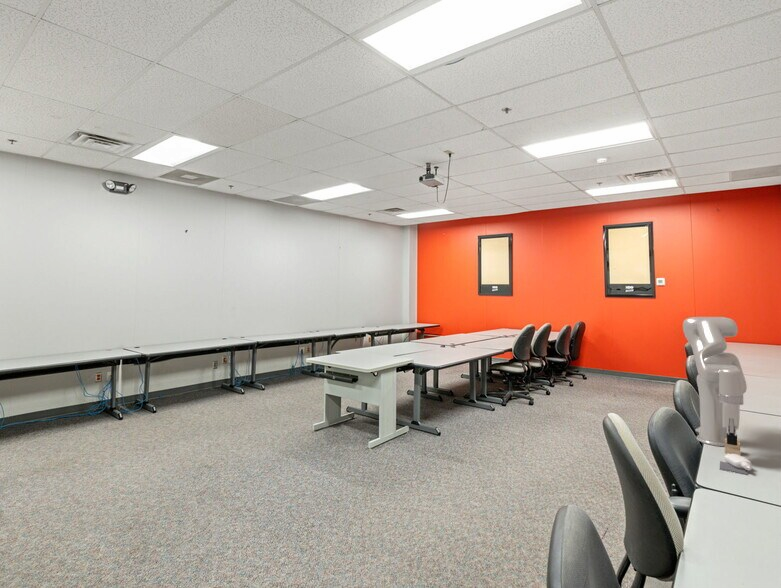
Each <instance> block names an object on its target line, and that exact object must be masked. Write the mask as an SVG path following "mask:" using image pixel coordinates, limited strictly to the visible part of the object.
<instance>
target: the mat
mask: <svg viewBox="0 0 781 588" xmlns="http://www.w3.org/2000/svg"><path fill="white" fill-rule="evenodd" d="M720 469H723V470H722V471H724V470H727V471H726V472H729V471H731V472H730V473H734V472H735V473H736V474H740V475H745V476H748V470H745V469H740V468H737V467H735V466H733V465H731V464H730V463H728V462H726V461H722V460H721V461H719V470H720Z"/></svg>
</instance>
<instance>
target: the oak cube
mask: <svg viewBox="0 0 781 588" xmlns="http://www.w3.org/2000/svg"><path fill="white" fill-rule="evenodd" d="M727 453H729V454H737V455H740V456H742V455H741V440H738V439H737V446H736V445H730V444H727V439H726V438H725V446H724V454H727Z"/></svg>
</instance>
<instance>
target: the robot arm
mask: <svg viewBox="0 0 781 588" xmlns="http://www.w3.org/2000/svg"><path fill="white" fill-rule="evenodd" d="M738 330H739V329H738V325H737V323H736V322H735V320H734V319H732V318H728V317H725V316H692V317H687V318H685V319H684V320H683V322H682V331H683V334H684V336H685V338H686V340H687V342H688V343H689V344H690V346H691V349H692V353H693V356H694V361H695V367H696V370H697V376H696V384H697V388H698V389H697V390H698V398H699V417H700V419H699V420H700V421H699V422H700V423H699V424H700V425H699V426H698V427H697V428H695V432H697V433H698V435H696V440H697V441H698V442H701V443H703V444H706V445H710V446H716V447H725V438H726V439H727V444H730V445H736V446H737V440H738V434H737V431H738V430H739V427H740V418H741V417H740V414H741V413H740V412H741V408H740V407H741V406H743V405H744V403H745V402H744V394H745V393H746V392H747V387H748V386H747V382H746V378H745V376H744V375H745V374H744V372H743V369H742V366H741V363H740V360H739V358H738V357H737V356H736V355H735V354H734V353H731V352H725V351H726V350H727V348H728V344H727V342H726V338H732V337H733V338H734V337H736V336H737V335H738Z"/></svg>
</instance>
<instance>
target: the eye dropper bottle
mask: <svg viewBox="0 0 781 588" xmlns="http://www.w3.org/2000/svg"><path fill="white" fill-rule="evenodd" d="M740 455H741V454H740ZM740 455H737V454H727V453H726V454H725V455H724V462H727V463H730V464H731V465H733V466H735V467H737V468H740V469H745V470H747V472H748V471H751V470H752V469H753V467H752V461H751V460H749V459H747V458H745V457H743V456H742V455H741V456H740Z"/></svg>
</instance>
